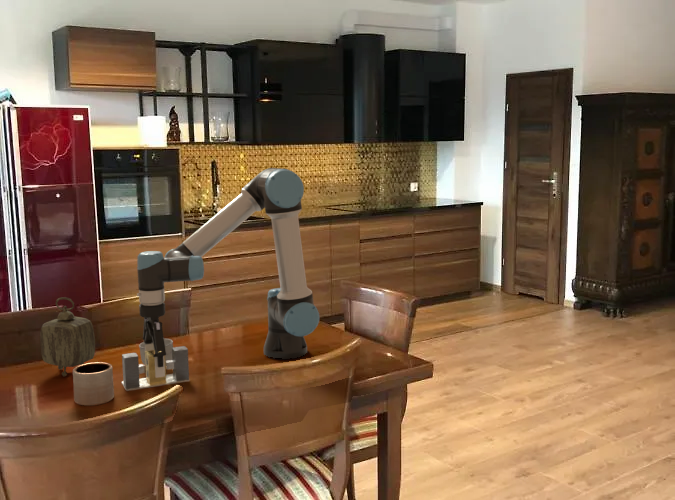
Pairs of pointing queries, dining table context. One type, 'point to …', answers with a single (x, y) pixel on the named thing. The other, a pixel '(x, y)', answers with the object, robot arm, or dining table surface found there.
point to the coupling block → (152, 368)
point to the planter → (93, 383)
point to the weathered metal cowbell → (67, 340)
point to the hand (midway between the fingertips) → (155, 370)
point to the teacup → (168, 350)
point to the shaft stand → (134, 369)
